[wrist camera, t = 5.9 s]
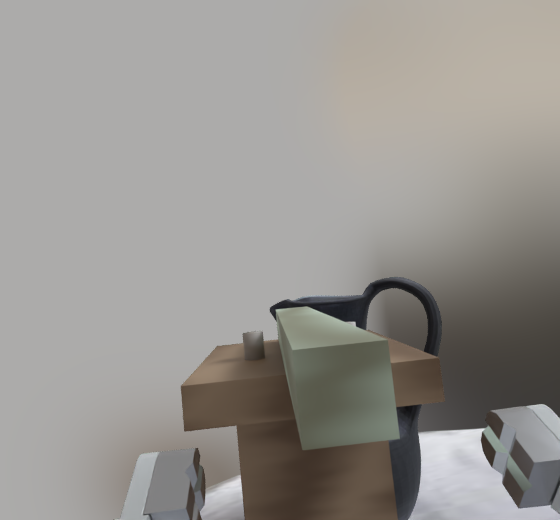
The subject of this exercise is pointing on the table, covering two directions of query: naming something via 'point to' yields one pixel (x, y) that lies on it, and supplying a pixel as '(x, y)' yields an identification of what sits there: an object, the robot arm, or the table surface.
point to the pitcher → (407, 447)
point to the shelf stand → (285, 437)
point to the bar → (336, 380)
